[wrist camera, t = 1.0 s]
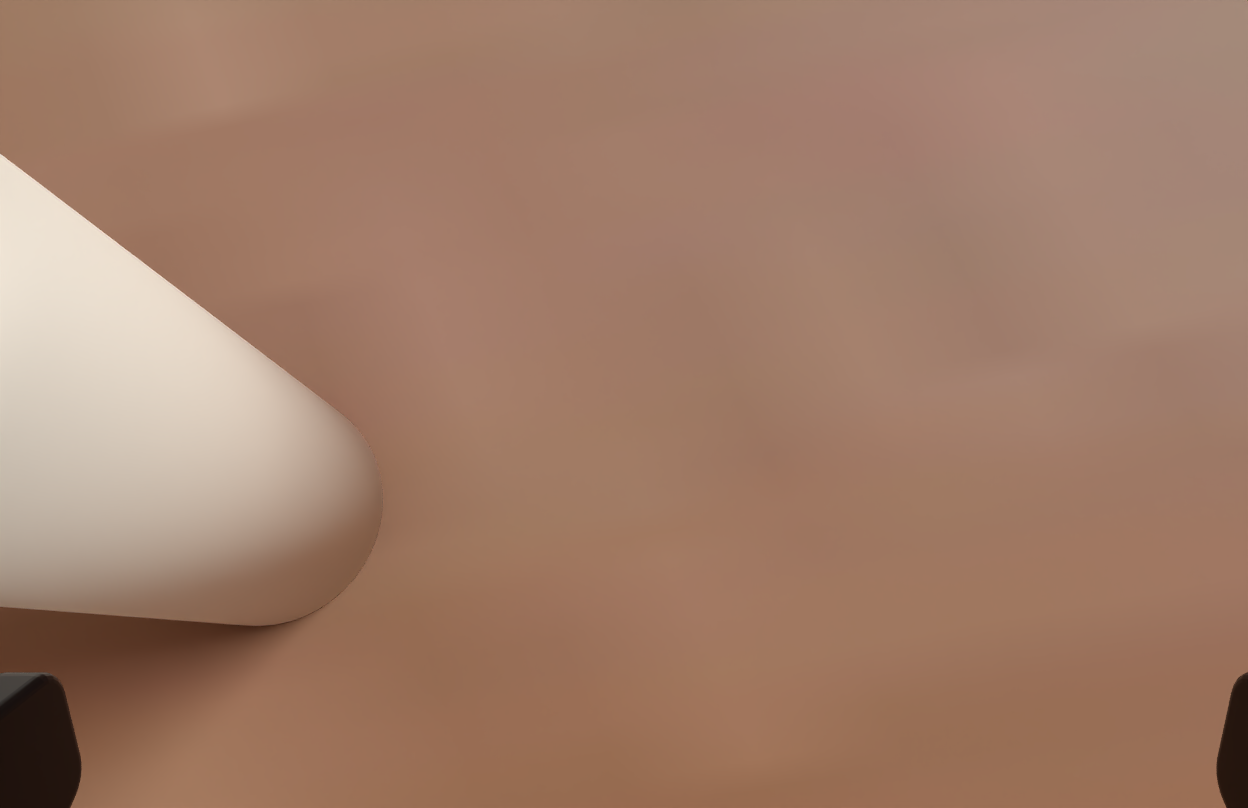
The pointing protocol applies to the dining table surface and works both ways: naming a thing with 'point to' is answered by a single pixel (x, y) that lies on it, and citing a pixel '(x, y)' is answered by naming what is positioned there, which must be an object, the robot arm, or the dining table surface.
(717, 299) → the dining table surface
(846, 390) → the dining table surface
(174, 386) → the cream vase
